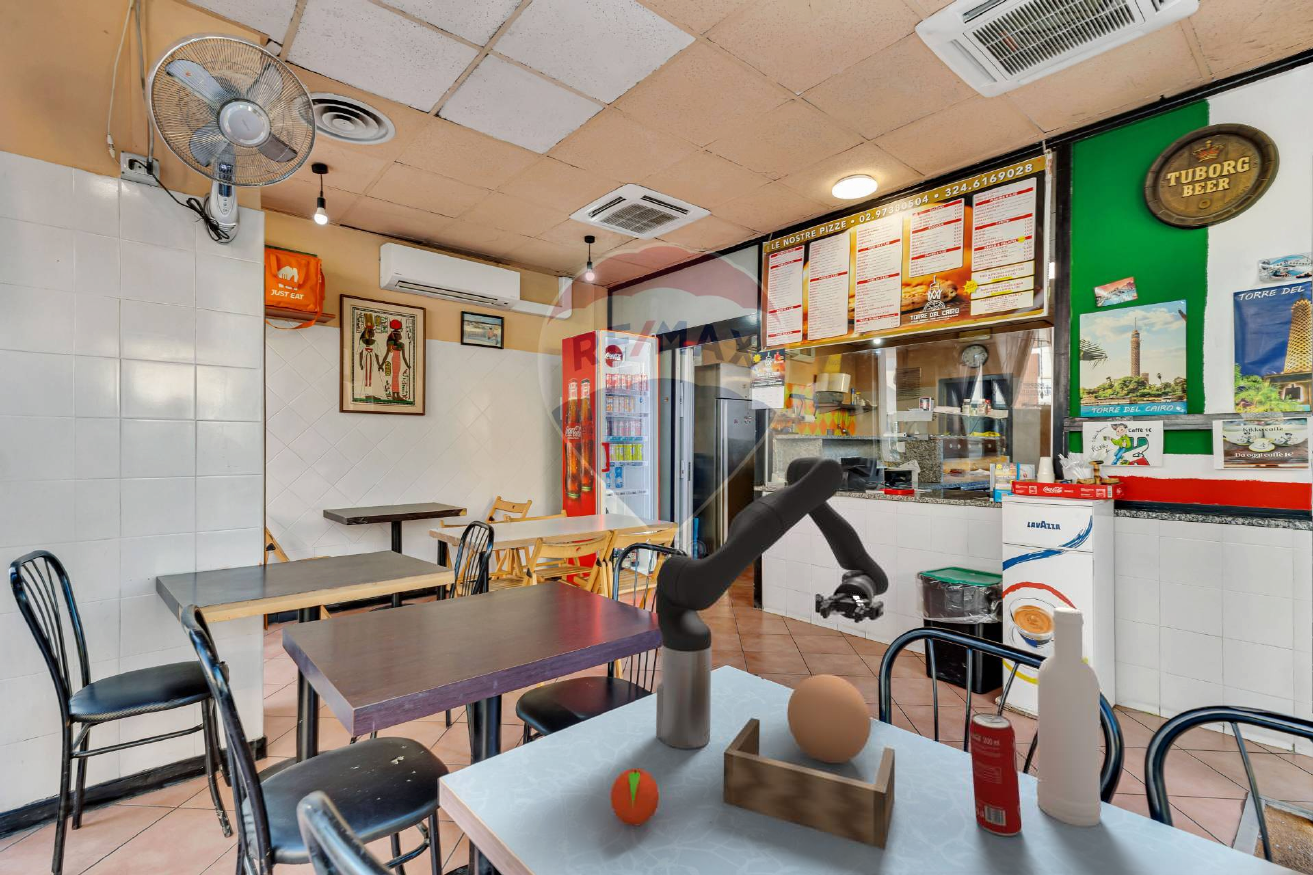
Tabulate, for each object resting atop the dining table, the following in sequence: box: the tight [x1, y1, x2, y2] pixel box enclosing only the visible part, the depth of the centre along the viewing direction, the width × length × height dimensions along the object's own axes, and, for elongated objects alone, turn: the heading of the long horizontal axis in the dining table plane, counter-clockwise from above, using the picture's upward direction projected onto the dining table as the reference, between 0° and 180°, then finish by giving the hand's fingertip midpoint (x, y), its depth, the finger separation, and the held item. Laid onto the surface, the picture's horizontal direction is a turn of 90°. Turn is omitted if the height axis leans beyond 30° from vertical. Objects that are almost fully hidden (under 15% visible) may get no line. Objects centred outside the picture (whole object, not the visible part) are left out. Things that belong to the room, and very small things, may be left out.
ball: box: [786, 673, 872, 764], centre depth 105 cm, size 14×14×14 cm
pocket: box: [722, 717, 896, 850], centre depth 92 cm, size 23×14×8 cm, turn 63°
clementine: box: [610, 768, 660, 826], centre depth 86 cm, size 8×7×7 cm
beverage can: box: [969, 712, 1023, 837], centre depth 86 cm, size 6×6×15 cm
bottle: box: [1036, 606, 1102, 828], centre depth 90 cm, size 8×8×30 cm
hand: (840, 615), depth 115 cm, fingers open, 5 cm apart
